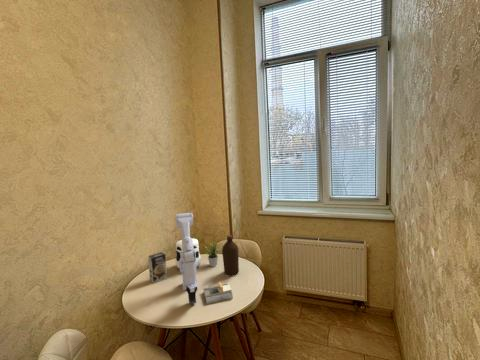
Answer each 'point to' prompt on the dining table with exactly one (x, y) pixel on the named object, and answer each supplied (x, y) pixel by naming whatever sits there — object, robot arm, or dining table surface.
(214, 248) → the house plant
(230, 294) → the socket
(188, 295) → the plug
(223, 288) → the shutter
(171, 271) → the dining table surface
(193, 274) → the robot arm
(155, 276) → the coffee box
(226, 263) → the olive oil
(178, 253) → the milk container
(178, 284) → the dining table surface
